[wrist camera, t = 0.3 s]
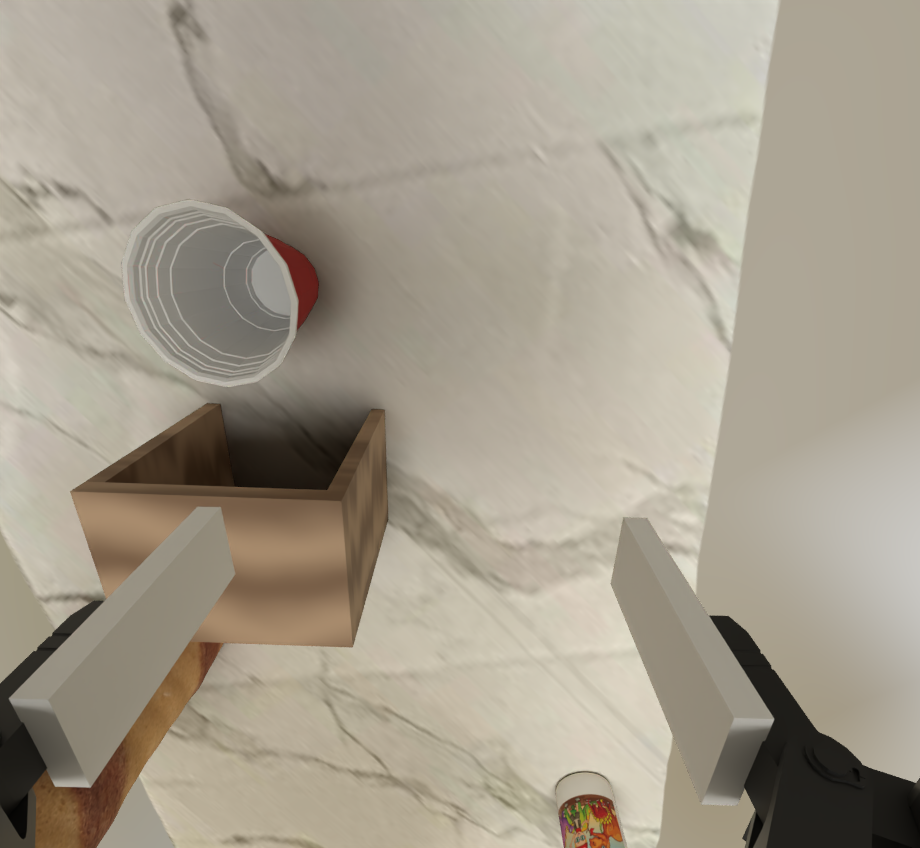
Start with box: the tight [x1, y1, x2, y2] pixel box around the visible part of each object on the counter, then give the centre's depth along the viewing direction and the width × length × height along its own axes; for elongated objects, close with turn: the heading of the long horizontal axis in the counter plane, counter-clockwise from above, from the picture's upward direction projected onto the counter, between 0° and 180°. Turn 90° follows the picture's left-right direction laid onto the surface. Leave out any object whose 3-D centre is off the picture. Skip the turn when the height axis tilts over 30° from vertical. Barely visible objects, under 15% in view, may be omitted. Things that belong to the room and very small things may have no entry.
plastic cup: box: [121, 199, 319, 387], centre depth 32 cm, size 11×11×12 cm
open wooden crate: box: [70, 403, 388, 647], centre depth 37 cm, size 12×16×16 cm
